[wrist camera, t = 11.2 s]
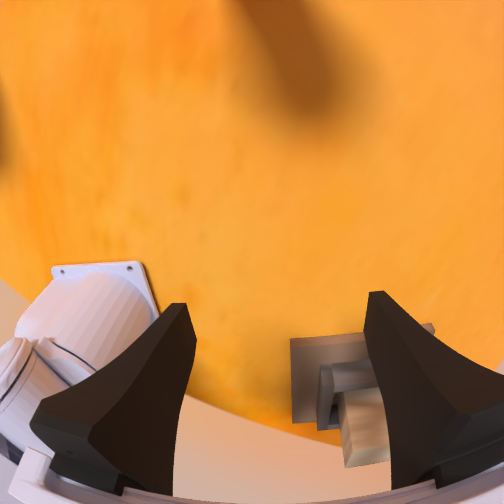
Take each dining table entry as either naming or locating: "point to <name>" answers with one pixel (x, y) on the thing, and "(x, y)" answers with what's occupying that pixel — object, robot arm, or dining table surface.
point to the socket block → (328, 375)
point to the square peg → (363, 427)
